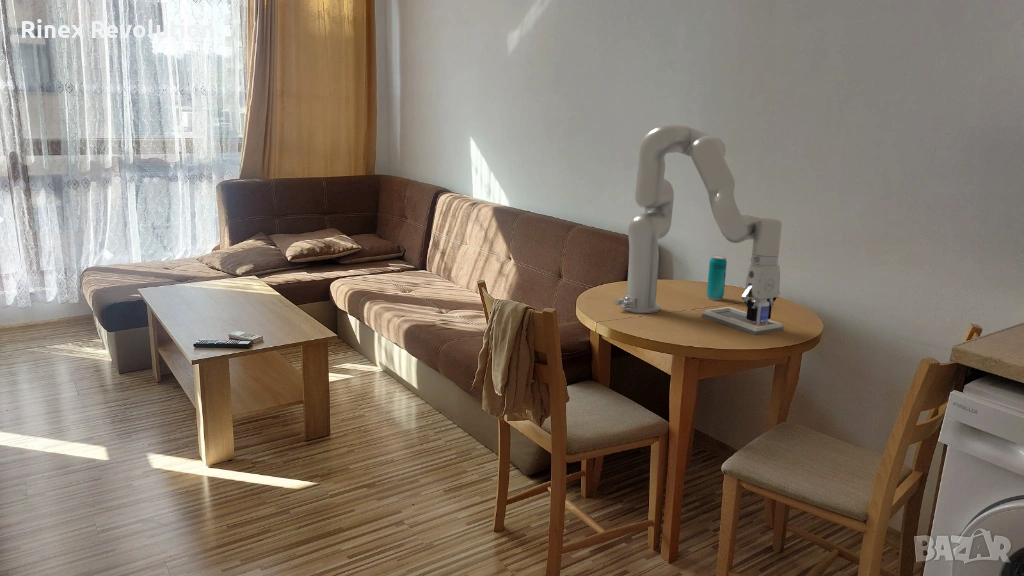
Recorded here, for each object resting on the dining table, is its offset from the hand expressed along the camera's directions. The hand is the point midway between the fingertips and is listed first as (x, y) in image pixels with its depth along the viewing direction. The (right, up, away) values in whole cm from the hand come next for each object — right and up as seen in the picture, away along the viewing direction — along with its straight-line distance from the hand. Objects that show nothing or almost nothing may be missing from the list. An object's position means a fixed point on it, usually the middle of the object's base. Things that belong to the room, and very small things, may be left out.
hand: (758, 318), depth 225 cm
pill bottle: (0, -2, +1) cm, 2 cm away
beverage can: (-3, +5, +36) cm, 37 cm away
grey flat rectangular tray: (-3, -2, +6) cm, 7 cm away
